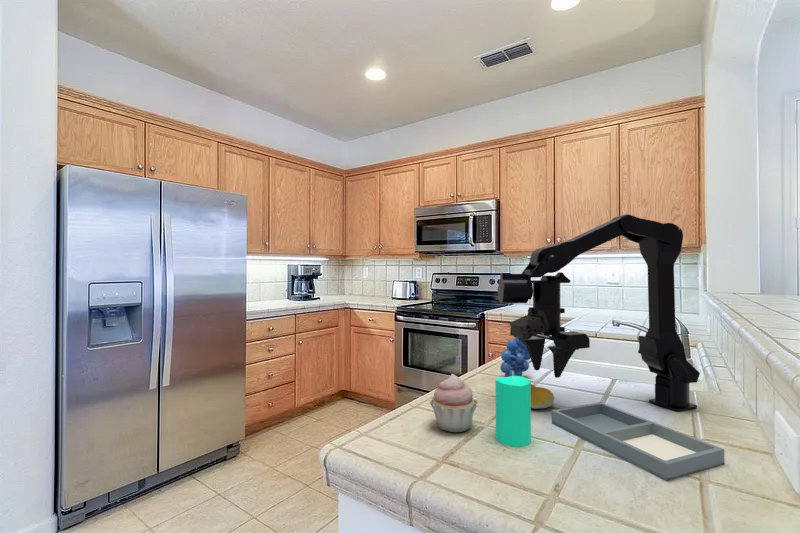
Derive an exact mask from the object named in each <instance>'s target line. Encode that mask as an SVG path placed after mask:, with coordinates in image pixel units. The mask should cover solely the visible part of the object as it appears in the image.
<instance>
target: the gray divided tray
mask: <svg viewBox="0 0 800 533" xmlns="http://www.w3.org/2000/svg"><path fill="white" fill-rule="evenodd" d="M551 424H553V425H555V426H556V427H559V428H560V429H562V430H565V431H566V432H569V433H570V434H572V435H575V436H576V437H578V438H580V439H582V440H584V441H586V442H587V443H589V444H591V445H594V446H595V447H598V448H600V449H602V450H604V451H605V452H608V453H610V454H612V455H614V456H615V457H618V458H620V459H621V460H624V461H626V462H628V463H629V464H632V465H633V466H635V467H638V468H640V469H641V470H644V471H646V472H648V473H649V474H651V475H653V476H655V477H658V478H659V479H661V480H664V481H665V482H670V481H673V480H677V479H680V478H683V477H686V476H690V475H693V474H696V473H701V472H703V471H706V470H709V469H714V468H716V467H720V466H724V465H725V448H722V447H720V446H717V445H715V444H712V443H709V442H707V441H705V440H701V439H698V438H696V437H693V436H691V435H688V434H685V433H683V432H681V431H678V430H675V429H673V428H670V427H667V426H665V425H661V424H659V423H656V422H655V421H651V420H649V419H646V418H643V417H641V416H638V415H635V414H633V413H630V412H629V411H628V412H627V411H625V410H623V409H620V408H617V407H614V406H613V405H609V404H606V403H604V402H600V401H599V402H593V403H587V404H582V405H581V404H580V405H575V406H569V407H564V408H558V409H552V410H551Z"/></svg>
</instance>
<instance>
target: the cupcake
mask: <svg viewBox="0 0 800 533" xmlns="http://www.w3.org/2000/svg"><path fill="white" fill-rule="evenodd" d="M433 394H434V395H433V396H431V400H429V401H428V402H429V404H430V406H431V408H432V409H433V412H434V417H435V421H436V424H437V426H438V428H439V429H441V430H442V431H446V432H450V433H463V432H466V431H468V430H469V429H470V428H471V426H472V422H473V419H474V418H473V417H474V413H475V411H476V409H477V407H478V403H479V400H476V399H474V397H473V394H474V393H473V391H472V388H471V386H470V385H469V384H468V383H466V382H464V381H463V380H462V379H461V378H460V377H458V376H457V375H456V374H454V373H451V375H450V377H449V378H447V379H445V380H443V381H441V382H440V383H439V384H438V387H436V389H435V390H434V392H433Z"/></svg>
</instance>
